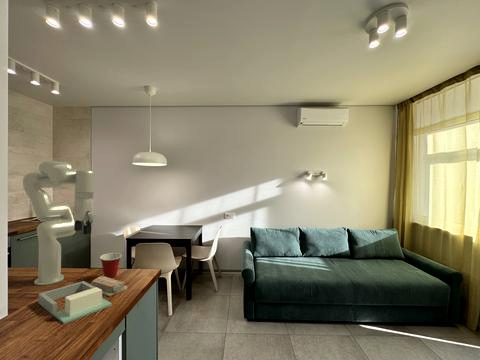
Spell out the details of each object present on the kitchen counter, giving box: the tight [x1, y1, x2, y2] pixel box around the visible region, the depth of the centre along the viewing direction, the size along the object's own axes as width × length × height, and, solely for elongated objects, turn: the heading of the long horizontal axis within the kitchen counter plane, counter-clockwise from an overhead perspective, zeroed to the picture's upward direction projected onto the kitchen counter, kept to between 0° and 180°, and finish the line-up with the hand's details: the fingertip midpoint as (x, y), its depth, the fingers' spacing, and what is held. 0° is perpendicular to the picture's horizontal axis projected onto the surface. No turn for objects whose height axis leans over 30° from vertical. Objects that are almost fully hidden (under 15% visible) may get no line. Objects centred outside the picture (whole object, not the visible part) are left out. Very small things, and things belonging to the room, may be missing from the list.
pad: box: [53, 297, 113, 325], centre depth 104 cm, size 10×18×1 cm, turn 145°
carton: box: [64, 287, 103, 316], centre depth 104 cm, size 5×12×6 cm, turn 144°
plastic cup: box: [99, 252, 123, 279], centre depth 140 cm, size 11×11×12 cm
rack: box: [37, 280, 96, 315], centre depth 112 cm, size 16×18×4 cm
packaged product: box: [90, 275, 128, 297], centre depth 125 cm, size 18×5×10 cm
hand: (82, 232), depth 120 cm, fingers open, 9 cm apart
